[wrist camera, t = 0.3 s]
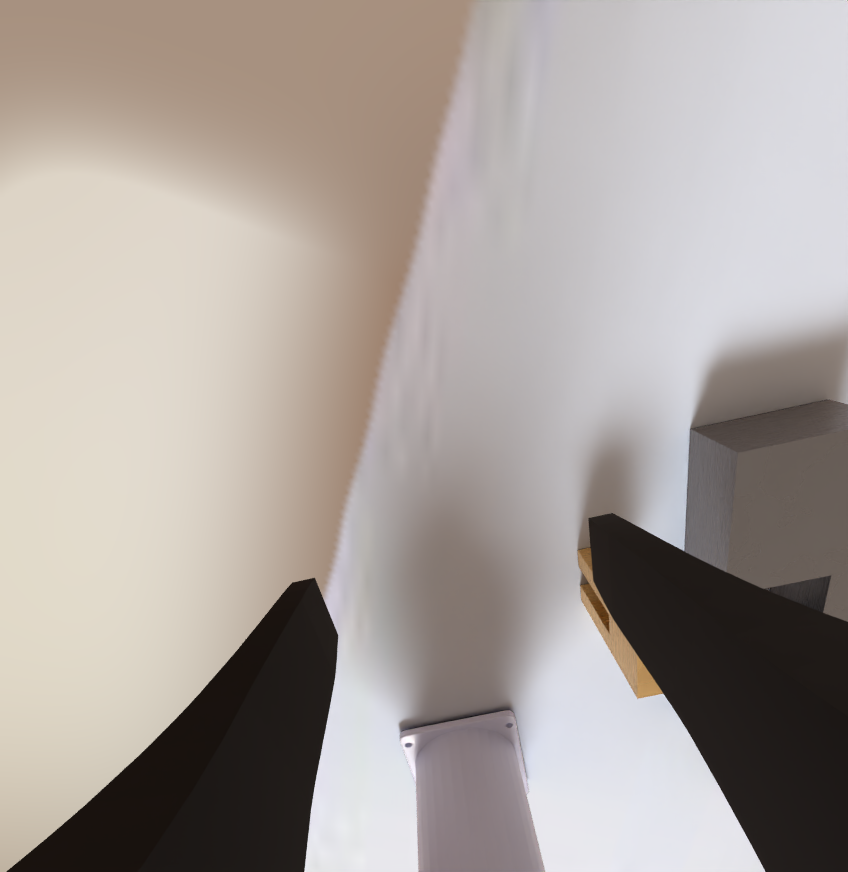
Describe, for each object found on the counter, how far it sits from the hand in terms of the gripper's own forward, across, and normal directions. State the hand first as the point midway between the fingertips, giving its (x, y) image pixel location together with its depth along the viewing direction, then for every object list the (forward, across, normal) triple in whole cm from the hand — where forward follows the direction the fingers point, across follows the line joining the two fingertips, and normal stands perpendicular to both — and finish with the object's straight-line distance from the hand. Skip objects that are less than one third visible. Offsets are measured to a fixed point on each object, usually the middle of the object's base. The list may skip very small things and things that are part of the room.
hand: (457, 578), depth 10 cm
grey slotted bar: (+10, -16, +14) cm, 23 cm away
